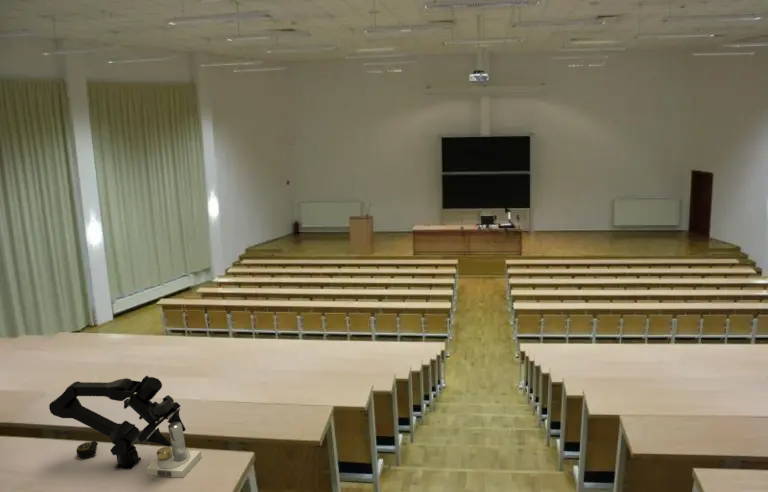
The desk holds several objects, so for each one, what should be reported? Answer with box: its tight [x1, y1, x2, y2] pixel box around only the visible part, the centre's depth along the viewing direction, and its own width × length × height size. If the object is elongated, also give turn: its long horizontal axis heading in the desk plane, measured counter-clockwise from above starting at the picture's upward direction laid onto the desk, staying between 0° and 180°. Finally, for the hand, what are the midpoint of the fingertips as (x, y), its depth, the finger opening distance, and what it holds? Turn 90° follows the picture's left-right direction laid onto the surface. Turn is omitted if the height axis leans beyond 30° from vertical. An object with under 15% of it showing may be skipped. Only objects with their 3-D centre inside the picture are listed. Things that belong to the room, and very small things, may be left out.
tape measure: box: [75, 440, 99, 459], centre depth 222 cm, size 7×7×4 cm
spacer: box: [167, 422, 187, 462], centre depth 207 cm, size 4×4×13 cm
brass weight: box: [156, 446, 172, 461], centre depth 210 cm, size 5×5×2 cm
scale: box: [146, 448, 202, 479], centre depth 210 cm, size 14×13×3 cm
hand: (177, 437), depth 207 cm, fingers open, 9 cm apart
